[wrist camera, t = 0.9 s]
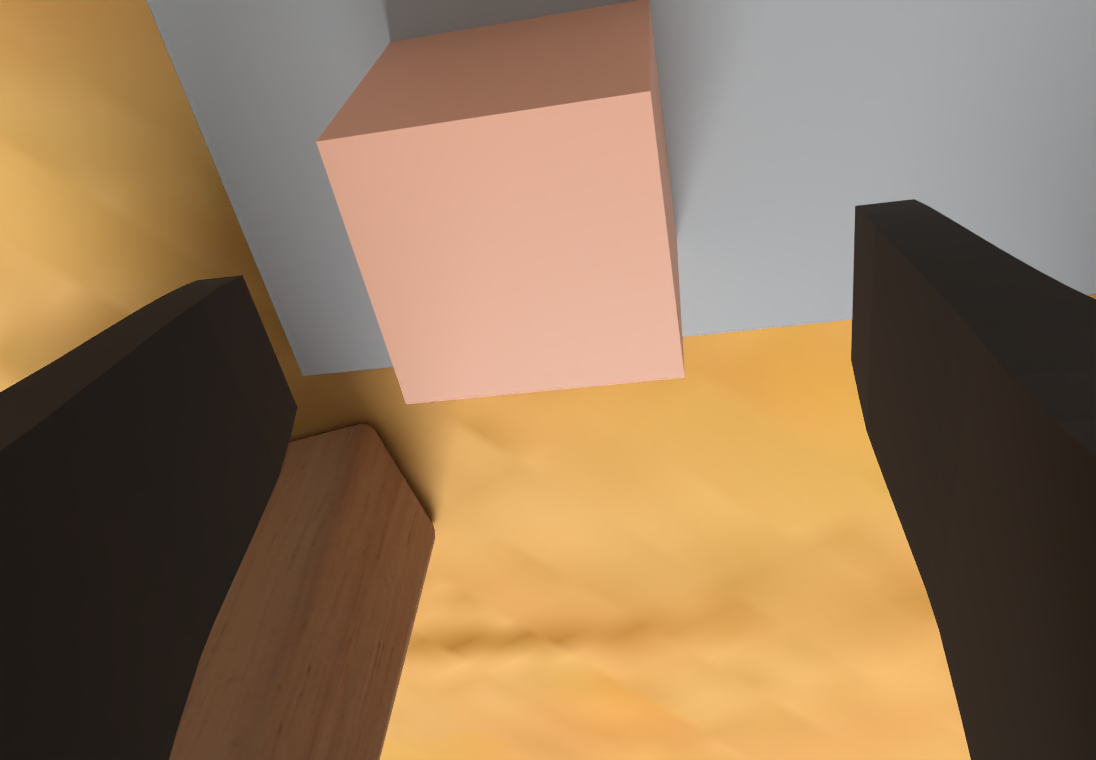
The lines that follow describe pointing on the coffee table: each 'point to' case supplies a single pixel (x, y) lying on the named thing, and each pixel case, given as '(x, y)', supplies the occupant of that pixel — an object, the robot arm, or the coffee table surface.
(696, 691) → the coffee table surface
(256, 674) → the wooden block
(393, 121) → the terracotta cube
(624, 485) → the coffee table surface
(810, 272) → the arena board
